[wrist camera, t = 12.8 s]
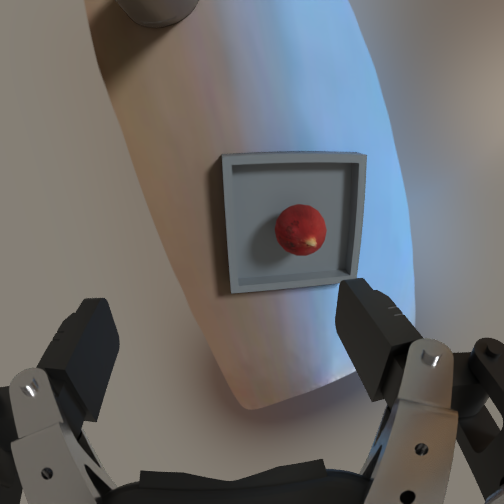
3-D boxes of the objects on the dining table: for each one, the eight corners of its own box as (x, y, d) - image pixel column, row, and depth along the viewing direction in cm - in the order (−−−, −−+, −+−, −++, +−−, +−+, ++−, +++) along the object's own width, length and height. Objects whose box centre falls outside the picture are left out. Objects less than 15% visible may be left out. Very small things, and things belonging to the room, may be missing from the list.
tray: (221, 154, 35) (222, 156, 32) (356, 152, 36) (366, 155, 33) (230, 281, 41) (231, 293, 39) (348, 271, 43) (356, 281, 40)
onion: (276, 247, 39) (290, 276, 32) (264, 205, 37) (276, 227, 29) (319, 233, 39) (341, 260, 32) (310, 191, 36) (332, 210, 29)
